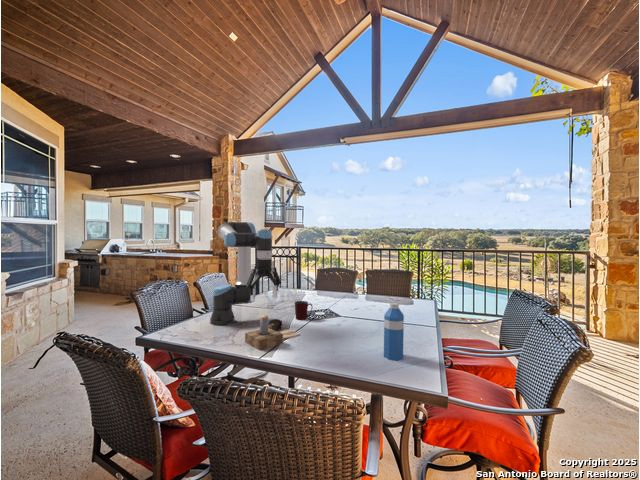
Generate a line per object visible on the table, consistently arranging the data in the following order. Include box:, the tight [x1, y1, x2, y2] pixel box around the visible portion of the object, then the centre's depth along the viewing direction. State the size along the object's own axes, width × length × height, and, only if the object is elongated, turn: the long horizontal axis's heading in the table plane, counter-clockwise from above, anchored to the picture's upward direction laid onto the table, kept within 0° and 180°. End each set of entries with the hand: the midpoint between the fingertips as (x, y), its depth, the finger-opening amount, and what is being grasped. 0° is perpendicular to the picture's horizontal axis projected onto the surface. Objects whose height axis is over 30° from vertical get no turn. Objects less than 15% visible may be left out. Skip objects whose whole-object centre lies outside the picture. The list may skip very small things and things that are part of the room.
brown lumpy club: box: [268, 318, 283, 331], centre depth 176 cm, size 18×7×6 cm, turn 161°
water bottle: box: [383, 302, 405, 361], centre depth 141 cm, size 9×9×25 cm
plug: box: [259, 314, 269, 336], centre depth 156 cm, size 4×4×14 cm
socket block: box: [244, 328, 284, 351], centre depth 156 cm, size 14×14×5 cm
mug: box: [294, 300, 313, 321], centre depth 203 cm, size 12×9×11 cm
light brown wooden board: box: [277, 328, 301, 341], centre depth 170 cm, size 12×12×1 cm
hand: (264, 299), depth 156 cm, fingers open, 13 cm apart
